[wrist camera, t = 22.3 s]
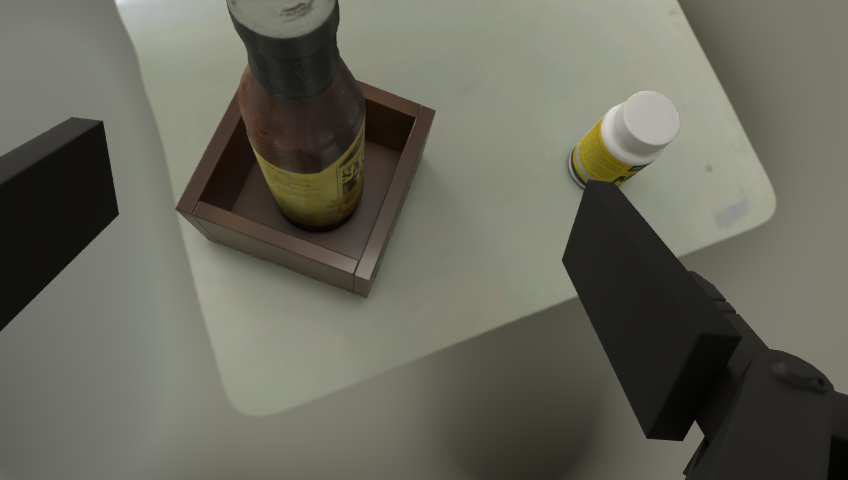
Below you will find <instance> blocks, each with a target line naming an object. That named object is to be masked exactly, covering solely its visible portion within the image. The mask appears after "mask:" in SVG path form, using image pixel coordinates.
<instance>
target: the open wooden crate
mask: <svg viewBox="0 0 848 480" xmlns="http://www.w3.org/2000/svg"><path fill="white" fill-rule="evenodd" d="M356 81H357V80H356ZM357 83H358V84H359V86H360V87H361V89H362V92H363V94H364V99H365V145H364V149H365V152H364V155H365V156H364V158H365V160H364V178H363V192H362V196H361V199H360V201H359V203H358V205H357V208H356V209H355V211H354V213H353V215H352V216H351V217H350V218H349V219H348V220H347V221H345V222H344V223H342V224H341V225H340V226H338V227H335V228H333V229H330V230H325V231H319V230H317V231H314V230H309V229H306V228H302V227H300V226H297V225H295V224H294V223H292V222H291V221H290V220H289V219H288V217H287V216H286V215H285V214H284V213H283V212H282V211H281V210H280V208H279V207H278V206H277V204H276V202H275V200H274V198H273V195H272V193H271V191H270V189H269V186H268V184H267V181H266V179H265V177H264V174H263V172H262V169H261V167H260V164H259V162H258V160H257V157H256V155H255V153H254V150H253V148H252V145H251V143H250V140H249V138H248V134H247V130H246V125H245V123H244V120H243V118H242V115H241V113H240V106H239V102H238V89H237V91H236V93H235V95H234V97H233V99H232V101H231V102H230V104H229V106H228V108H227V110H226V112H225V114H224V116H223V118H222V120H221V122H220V124H219V125H218V127H217V129H216V131H215V133H214V135H213V137H212V139H211V141H210V143H209V145H208V147H207V149H206V150H205V152H204V154H203V156H202V158H201V160H200V162H199V164H198V166H197V168H196V170H195V172H194V173H193V175H192V177H191V179H190V181H189V183H188V185H187V187H186V189H185V191H184V193H183V195H182V196H181V198H180V200H179V202H178V204H177V206H176V208H175V209H176V210H177V211H178V212H179V213H180V214H181V215H182V216H183V217H185V218H186V219H187V220H188V221H189V222H190V223H191V224H192V225H193V226H194V227H195V228H196V229H197V230H198V231H200V232H201V233H202V234H203V235H204V236H205V237H206V238H207V239H209V240H211V241H214V242H217V243H219V244H222V245H225V246H227V247H230V248H233V249H236V250H238V251H241V252H244V253H246V254H249V255H252V256H254V257H257V258H260V259H263V260H265V261H268V262H271V263H273V264H276V265H279V266H281V267H284V268H287V269H289V270H292V271H295V272H298V273H300V274H303V275H306V276H308V277H311V278H314V279H316V280H319V281H322V282H324V283H327V284H330V285H333V286H335V287H338V288H341V289H343V290H346V291H349V292H351V293H354V294H357V295H360V296H362V297H365V298H367V297H368V294H369V292H370V289H371V286H372V284H373V281H374V279H375V276H376V273H377V271H378V268H379V266H380V263H381V260H382V258H383V255H384V253H385V250H386V247H387V245H388V242H389V240H390V237H391V235H392V232H393V229H394V227H395V224H396V222H397V219H398V216H399V214H400V211H401V209H402V206H403V203H404V201H405V198H406V196H407V193H408V190H409V188H410V185H411V183H412V180H413V178H414V175H415V172H416V170H417V167H418V165H419V162H420V159H421V157H422V154H423V151H424V148H425V144H426V141H427V138H428V135H429V131H430V128H431V125H432V121H433V118H434V115H435V110H433V109H430V108H427V107H425V106H421V105H420V104H417V103H415V102H412V101H409V100H407V99H404V98H402V97H399V96H396V95H394V94H391V93H389V92H386V91H383V90H381V89H378V88H376V87H373V86H370V85H368V84H365V83H363V82H360V81H357ZM238 88H239V87H238Z"/></svg>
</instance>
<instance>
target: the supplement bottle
mask: <svg viewBox="0 0 848 480" xmlns="http://www.w3.org/2000/svg"><path fill="white" fill-rule="evenodd" d="M679 129H680V117H679V113H678V111H677V109H676V107H675V106H674V104H673V103H672V102H671V101H670V100H669V99H668V98H666V97H665V96H663V95H661V94H659V93H657V92H653V91H641V92H638V93H635V94H633V95H632V96H631V97H629V98H628V99H627V100H626V101H625V102H624V103H622V104H619V105H616V106H615V107H613V108H612V109H610V110H609V111H608V112H607V113H606V114H605V115H604V116H603V117H602V118H601V119H600V121H599V122H598V123H597V124H596V125H595V126H594V127H593V128H592V129H591V130H590V131H589V132H588V133H587V134H586V135H585V136H584V137H583V138H582V139H581V140H580V141H579V142H578V143H577V144H576V145H575V146H574V148H573V149H572V151H571V153H570V156H569V169H570V172H571V175H572V177H573V178H574V180H575V181H576V182H577V183H578V184H579V185H580V186H582V187H583V188H585V187H586V184H587V181H588V179H590V180H598V181H607V182H614V183H615V185H616V186H617V187H618V186H619V185H621V184H622V183H624V182H625V181H626V180H628V179H629V178H630V177H632V176H633V175H635V174H636V173H637V172H639V171H640V170H642V169H643V168H644V167H646V166H647V165H649V164H650V163H652V162H653V161H654V160H655V159H656V158H657V157H658V156H659V155H660V154H661V152H662V151H663V149H664V147H666V146H667V144H669V143H670V142H671V141H672V140H673V139H674V138H675V137H676V136H677V134H678V132H679Z"/></svg>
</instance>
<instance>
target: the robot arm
mask: <svg viewBox="0 0 848 480" xmlns="http://www.w3.org/2000/svg"><path fill="white" fill-rule="evenodd" d="M118 215H119V212H118V206H117V200H116V195H115V189H114V183H113V178H112V171H111V165H110V159H109V154H108V148H107V142H106V136H105V130H104V124H103V121H99V120H90V119H81V118H74V117H71V118H70V119H68V120H66V121H64V122H62V123H60V124H59V125H57V126H55V127H53V128H51V129H50V130H48V131H47V132H44V133H42V134H41V135H39V136H37V137H35V138H33V139H32V140H30V141H28V142H26V143H24V144H23V145H21V146H19V147H17V148H15V149H14V150H12V151H10V152H8V153H7V154H5V155H3V156H1V157H0V331H1V330H2V329H3V328H4V327H5V326H6V325H7V324H8V323H9V322H10V321H11V320H12V319H13V318H14V317H15V316H16V315H17V314H18V313H19V312H20V311H21V310H22V309H24V308H25V306H27V304H29V303H30V302H31V301H32V300H33V299H34V298H35V297H36V296H37V295H38V294H39V293H40V292H41V291H42V290H43V289H44V288H45V287H46V286H47V285H48V284H49V283H50V282H51V281H52V280H53V279H54V278H55V277H56V276H57V275H58V274H59V273H60V272H61V271H62V270H63V269H64V268H65V267H66V266H67V265H68V264H69V263H70V262H71V261H72V260H73V259H74V258H75V257H76V256H77V255H78V254H79V253H80V252H81V251H82V250H83V249H84V248H85V247H86V246H87V245H88V244H89V243H90V242H91V241H92V240H93V239H94V238H96V236H98V235H99V234H100V232H101V231H102V230H104V228H106V227H107V226H108V225H109V224H110V223H111V221H113V220H114V219H115V218H116V217H117V216H118ZM562 262H563V264H564V266H565V268H566V270H567V273H568V275H569V277H570V279H571V281H572V283H573V285H574V287H575V289H576V291H577V293H578V296H579V298H580V300H581V302H582V304H583V306H584V308H585V310H586V312H587V314H588V316H589V318H590V321H591V323H592V325H593V327H594V329H595V331H596V333H597V335H598V337H599V340H600V342H601V344H602V346H603V348H604V350H605V352H606V354H607V356H608V358H609V361H610V363H611V365H612V367H613V369H614V371H615V373H616V375H617V377H618V379H619V381H620V384H621V386H622V388H623V390H624V392H625V394H626V396H627V398H628V400H629V402H630V405H631V407H632V409H633V411H634V413H635V415H636V417H637V419H638V421H639V423H640V426H641V428H642V430H643V432H644V434H645V436H646V438H647V439H660V440H673V441H683V440H684V438H685V436H686V434H687V433H688V431H689V429H690V427H691V426H692V424H693V422H694V421H695V420H696V422H697V424H698V425H699V427H700V429H701V430H702V432H703V434H704V436H705V437H704V438H703V440H702V442H701V443H700V445H699V447H698V448H697V450H696V452H695V453H694V455H693V457H692V458H691V460H690V462H689V463H688V465H687V467H686V468H685V470H684V472H683V474H684V475H686V478H685V480H848V395H846V394H842V393H839V392H836V391H834V388H833V385H832V384H831V382H830V381H829V380H828V379H827V377H826V376H825V375H824V374H823V373H821V372H820V371H819V370H817V369H816V368H815V367H814V366H813V365H811V364H809V363H807V362H806V361H804V360H802V359H800V358H799V357H797V356H794V355H791V354H789V353H786V352H783V351H779V350H772V349H769V348H768V347H767V346H766V345H765V344H764V343H763V341H762V340H761V339H760V338H759V337H758V336H757V334H755V332H754V331H753V330H752V329H751V328H750V326H749V325H748V324H747V323H746V322H745V321H744V320H743V318H742V317H741V316H740V315H739V314H736V311H735V309H734V308H733V307H732V306H731V305H730V304H729V303H728V302H726V299H725V298H724V297H723V296H722V294H721V293H720V292H719V291H718V290H717V289H716V287H715V286H714V285H713V284H711V283H710V282H708V281H707V280H705V279H704V278H703V277H701V276H700V275H698V274H697V273H695V272H693V271H687V270H686V269H685V267H684V266H683V265H682V264H681V263H680V261H679V260H678V259H677V258H676V257H675V255H674V254H673V253H672V252H671V251H670V249H669V248H668V247H667V246H666V245H665V243H664V242H663V241H662V240H661V239H660V237H659V236H658V235H657V234H656V233H655V231H654V230H653V229H652V228H651V227H650V225H649V224H648V223H647V222H646V221H645V219H644V218H643V217H642V216H641V215H640V213H639V212H638V211H637V210H636V209H635V207H634V206H633V205H632V204H631V203H630V201H629V200H628V199H627V198H626V197H625V195H624V194H623V193H622V192H621V191H620V189H619V188H618V187H617V186H616V185H615V183H614V182H607V181H598V180H590V179H588V181H587V184H586V187H585V190H584V193H583V196H582V199H581V202H580V205H579V209H578V212H577V215H576V218H575V221H574V224H573V227H572V230H571V233H570V237H569V240H568V243H567V246H566V249H565V252H564V255H563V258H562Z"/></svg>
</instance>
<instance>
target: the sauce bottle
mask: <svg viewBox="0 0 848 480" xmlns="http://www.w3.org/2000/svg"><path fill="white" fill-rule="evenodd" d="M226 1H227V7H228V11H229V13H230V16H231V19H232V22H233V25H234V27H235V30H236V31H237V33H238V34H239V36H240V38H241V39H242V41H243V42H244V44H245V47H246V50H247V53H248V62H249V63H248V65H247V67H246V68H245V70H244V73H243V75H242V77H241V81H240V85H239V88H238V102H239V106H240V113H241V115H242V118H243V120H244V123H245V125H246V130H247V134H248V138H249V140H250V143H251V145H252V148H253V150H254V153H255V155H256V157H257V160H258V162H259V164H260V167H261V169H262V172H263V174H264V177H265V179H266V181H267V184H268V186H269V189H270V191H271V193H272V195H273V198H274V200H275V202H276V204H277V206H278V207H279V208H280V210H281V211H282V212H283V213H284V214H285V215H286V216H287V217H288V219H289V220H290V221H291V222H292V223H294V224H295V225H297V226H300V227H302V228H306V229H309V230H314V231H317V230H319V231H325V230H330V229H333V228H335V227H338V226H340V225H341V224H342V223H344V222H345V221H347V220H348V219H349V218H350V217H351V216H352V215H353V213H354V211H355V209H356V208H357V205H358V203H359V201H360V199H361V196H362V192H363V178H364V160H365V158H364V156H365V155H364V152H365V149H364V145H365V99H364V94H363V92H362V89H361V87H360V86H359V84H358V83H357V81H356V80H355V78H354V77H353V75H352V74H351V72H350V71H349V69H348V67H347V66H346V64H345V63H344V61H343V60H342V58H341V57H340V56H339V50H338V47H337V41H336V32H337V29H338V25H339V19H340V17H339V4H338V0H226Z"/></svg>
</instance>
